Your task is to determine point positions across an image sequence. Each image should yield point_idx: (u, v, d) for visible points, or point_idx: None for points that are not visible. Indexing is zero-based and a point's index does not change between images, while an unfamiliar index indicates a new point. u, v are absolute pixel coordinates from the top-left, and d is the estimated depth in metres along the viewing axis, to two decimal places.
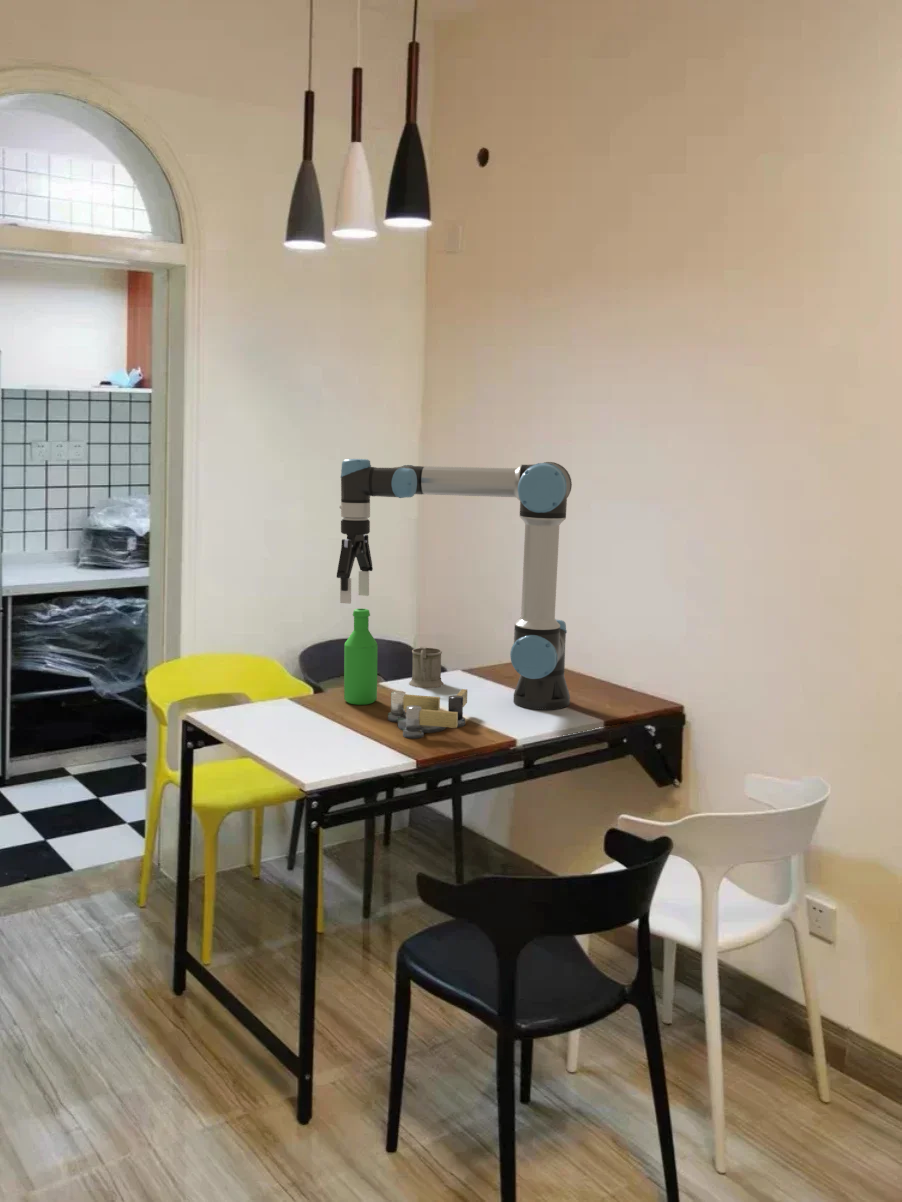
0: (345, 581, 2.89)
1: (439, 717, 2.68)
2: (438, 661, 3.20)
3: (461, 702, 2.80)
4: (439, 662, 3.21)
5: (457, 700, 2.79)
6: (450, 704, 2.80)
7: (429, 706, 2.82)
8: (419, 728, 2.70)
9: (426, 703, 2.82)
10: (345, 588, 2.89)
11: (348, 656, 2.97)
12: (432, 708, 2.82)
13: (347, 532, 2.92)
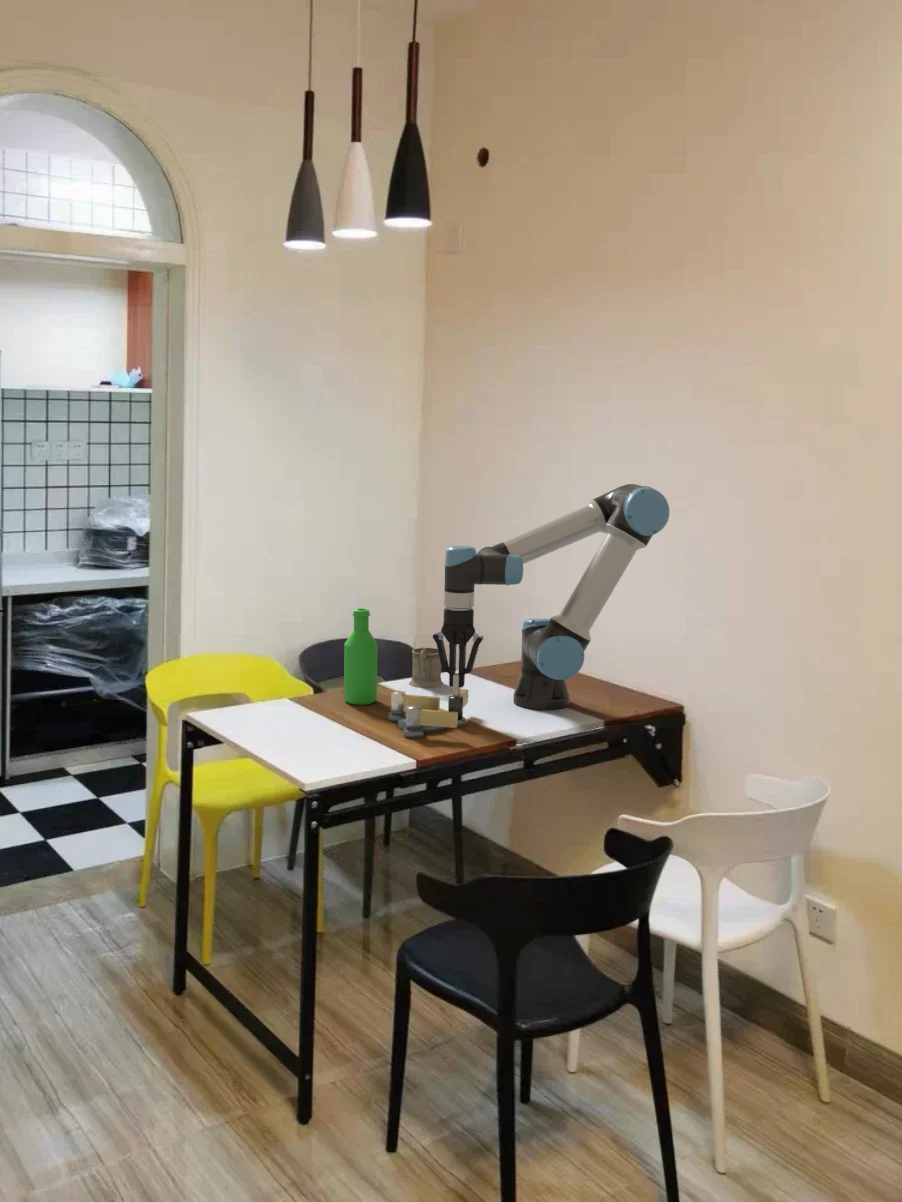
0: None
1: (439, 717, 2.68)
2: (438, 661, 3.20)
3: (461, 702, 2.80)
4: (439, 662, 3.21)
5: (457, 700, 2.79)
6: (450, 704, 2.80)
7: (429, 706, 2.82)
8: (419, 728, 2.70)
9: (426, 703, 2.82)
10: None
11: (348, 656, 2.97)
12: (432, 708, 2.82)
13: None
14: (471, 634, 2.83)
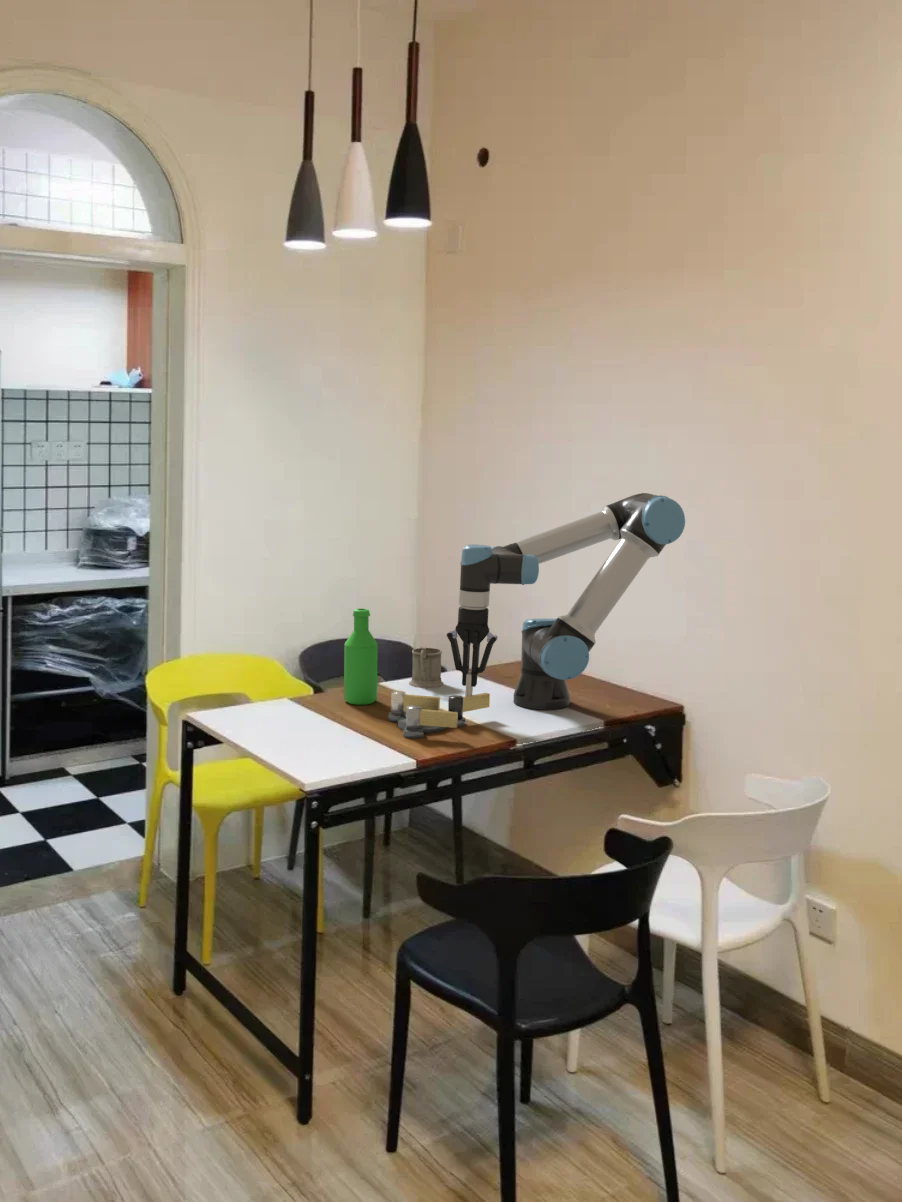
0: None
1: (439, 717, 2.68)
2: (438, 661, 3.20)
3: (457, 703, 2.79)
4: (439, 662, 3.21)
5: (452, 700, 2.79)
6: (448, 703, 2.81)
7: (429, 706, 2.82)
8: (419, 728, 2.70)
9: (426, 703, 2.82)
10: (462, 682, 2.86)
11: (348, 656, 2.97)
12: (432, 708, 2.82)
13: None
14: (485, 633, 2.82)
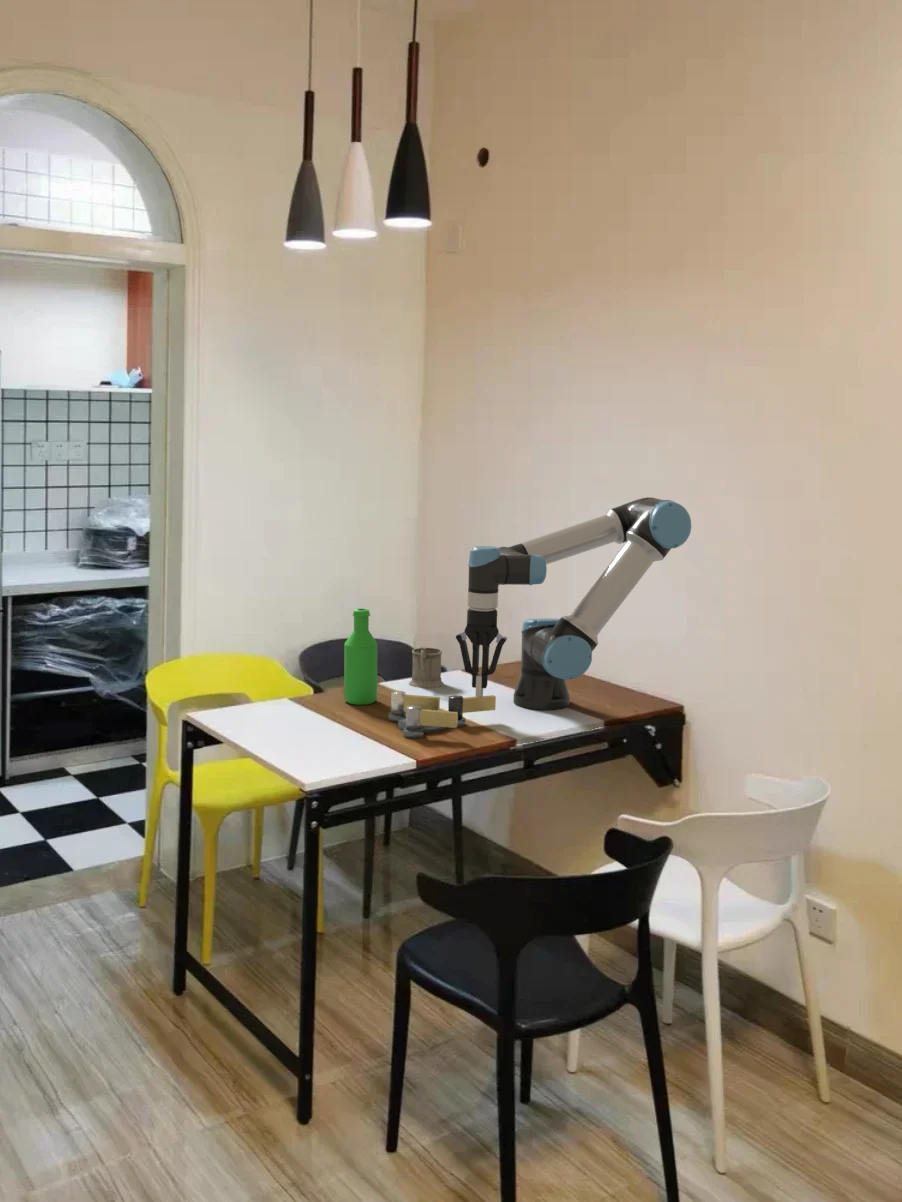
0: None
1: (439, 717, 2.68)
2: (438, 661, 3.20)
3: (455, 703, 2.79)
4: (439, 662, 3.21)
5: (451, 699, 2.80)
6: None
7: (429, 706, 2.82)
8: (419, 728, 2.70)
9: (426, 703, 2.82)
10: (472, 684, 2.85)
11: (348, 656, 2.97)
12: (432, 708, 2.82)
13: None
14: (495, 635, 2.81)
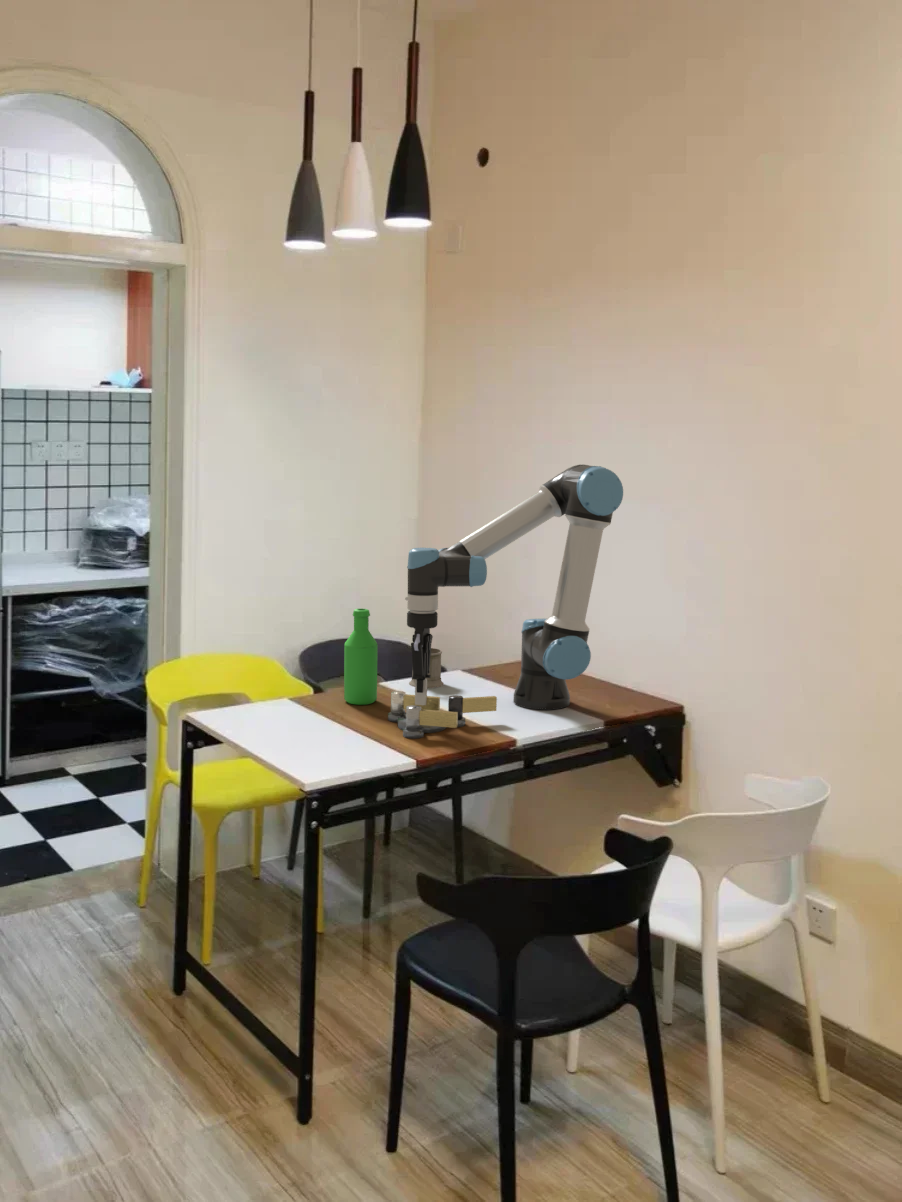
0: (421, 683, 2.79)
1: (439, 717, 2.68)
2: (438, 661, 3.20)
3: (455, 703, 2.79)
4: (439, 662, 3.21)
5: (450, 699, 2.80)
6: None
7: (429, 706, 2.82)
8: (419, 728, 2.70)
9: None
10: (421, 690, 2.79)
11: (348, 656, 2.97)
12: (432, 708, 2.82)
13: (415, 626, 2.75)
14: (429, 633, 2.83)
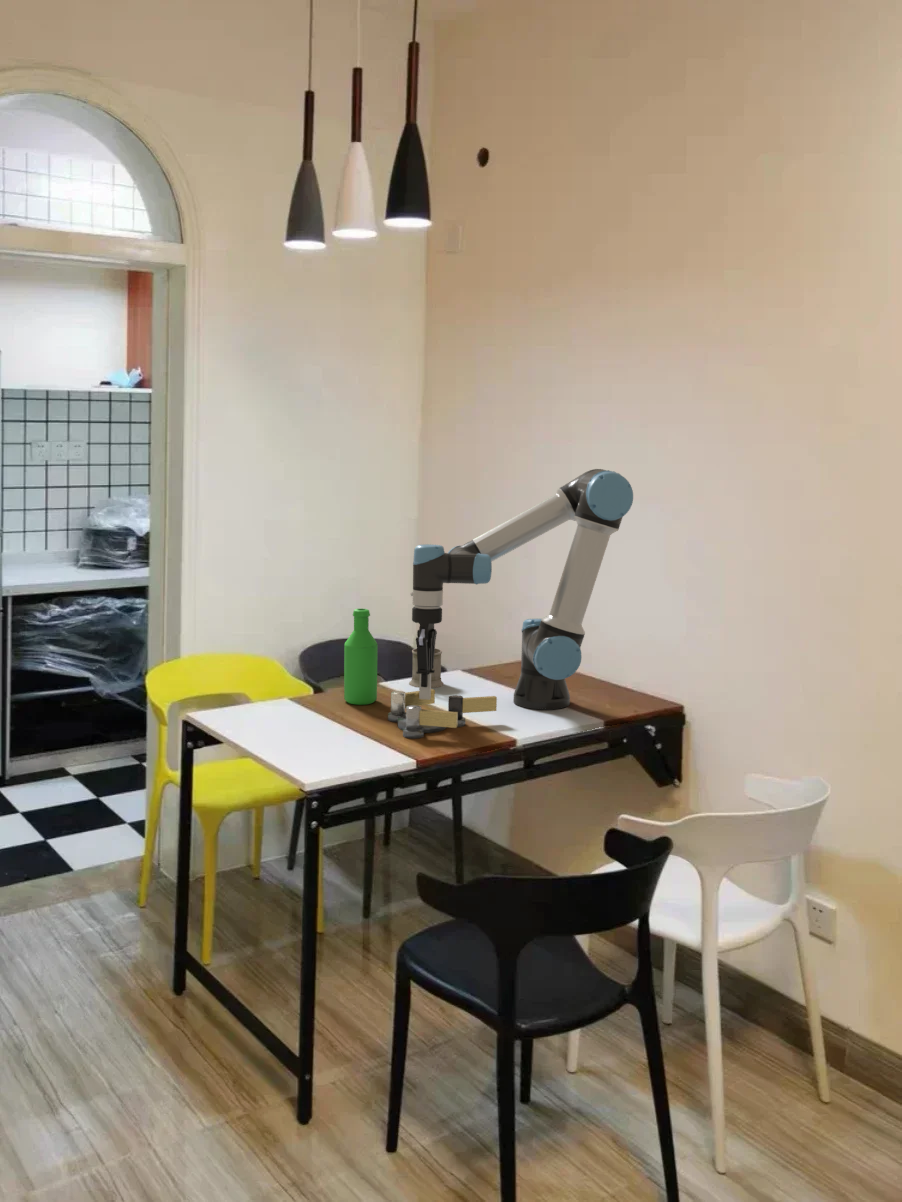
0: (425, 677, 2.84)
1: (439, 717, 2.68)
2: (438, 661, 3.20)
3: (455, 703, 2.79)
4: (439, 662, 3.21)
5: (450, 699, 2.80)
6: None
7: (426, 699, 2.89)
8: (419, 728, 2.70)
9: None
10: (425, 684, 2.84)
11: (348, 656, 2.97)
12: (429, 701, 2.89)
13: (420, 621, 2.80)
14: None
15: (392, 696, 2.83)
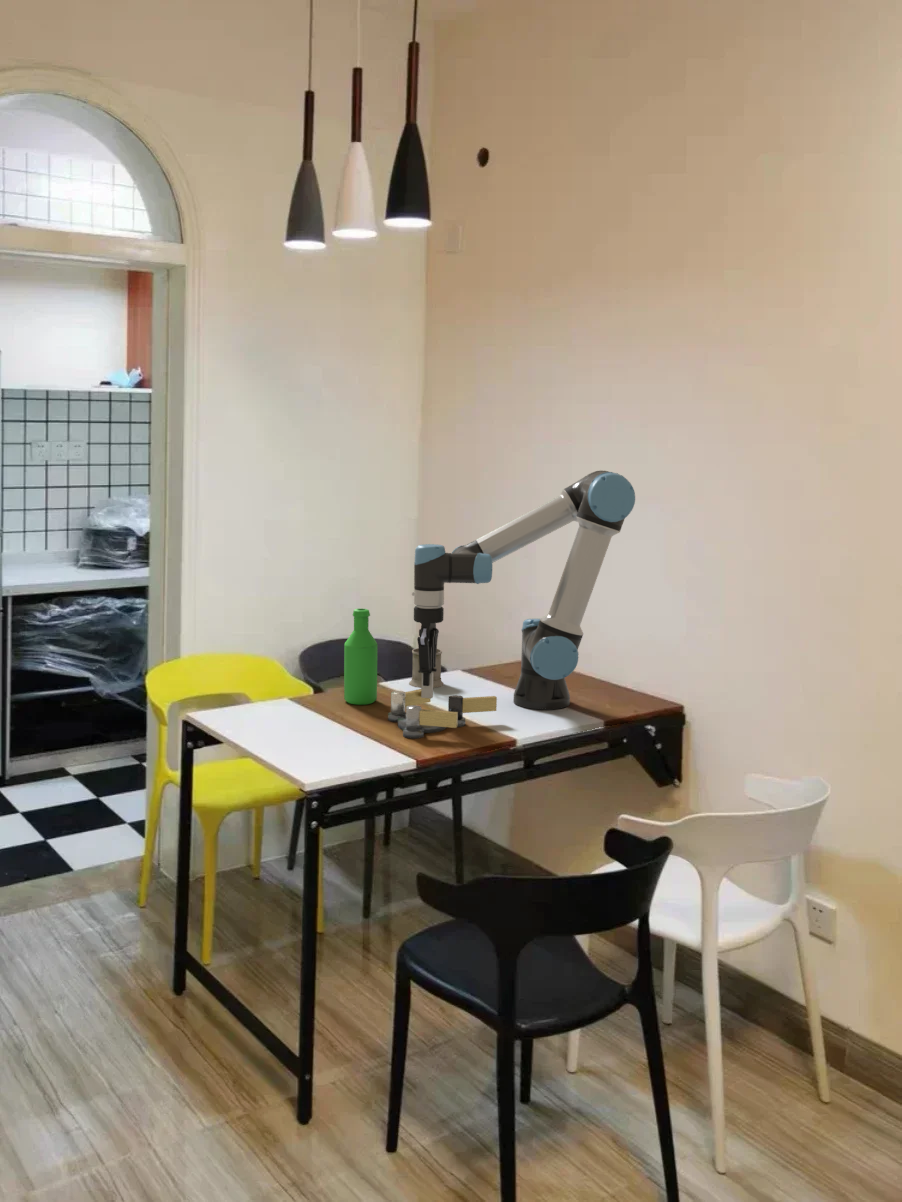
0: (427, 676, 2.86)
1: (439, 717, 2.68)
2: (438, 661, 3.20)
3: (455, 703, 2.79)
4: (439, 662, 3.21)
5: (450, 699, 2.80)
6: None
7: (423, 698, 2.90)
8: (419, 728, 2.70)
9: None
10: (427, 683, 2.86)
11: (348, 656, 2.97)
12: (426, 699, 2.90)
13: (421, 621, 2.82)
14: None
15: (393, 696, 2.83)
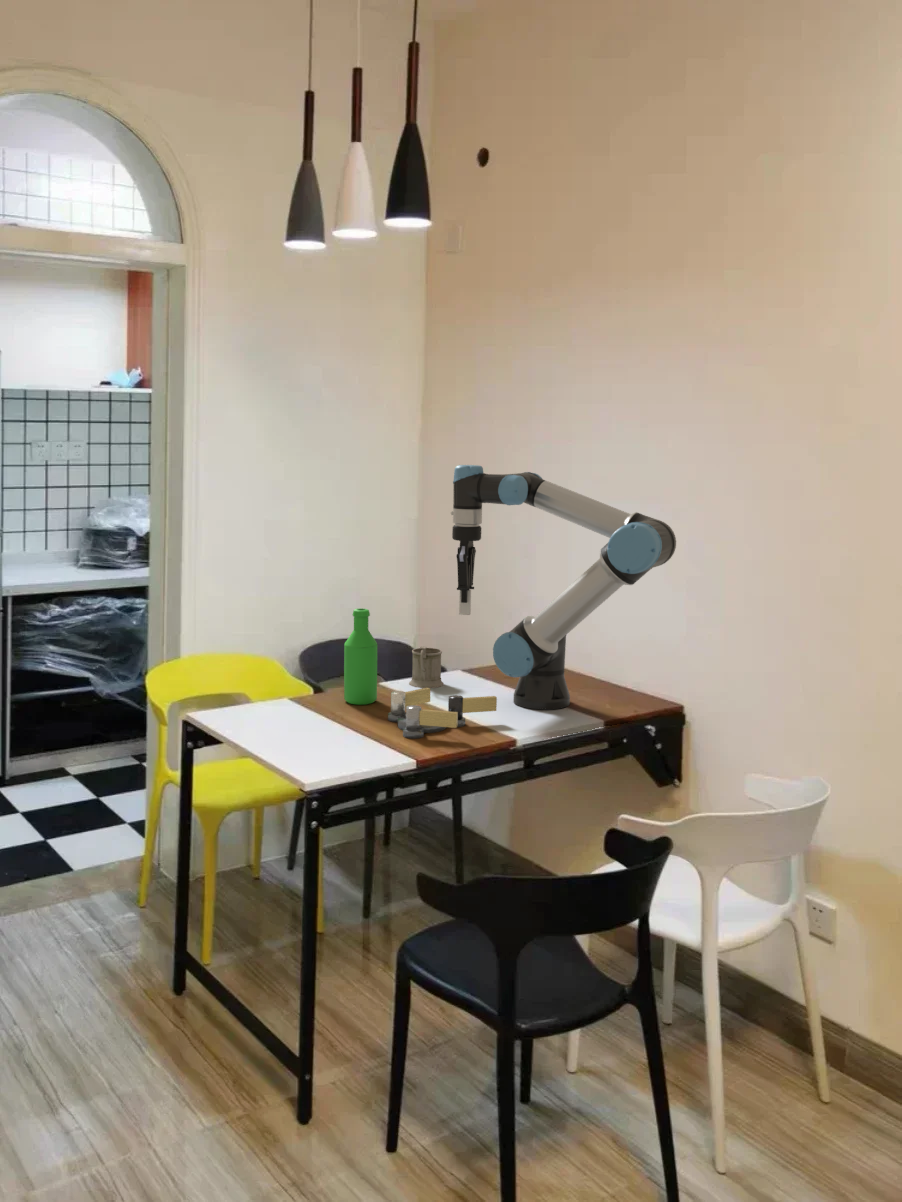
0: (465, 593, 2.95)
1: (439, 717, 2.68)
2: (438, 661, 3.20)
3: (455, 703, 2.79)
4: (439, 662, 3.21)
5: (450, 699, 2.80)
6: None
7: (423, 698, 2.90)
8: (419, 728, 2.70)
9: (421, 696, 2.89)
10: (465, 600, 2.95)
11: (348, 656, 2.97)
12: (426, 699, 2.90)
13: (460, 538, 2.91)
14: None
15: (393, 696, 2.83)
